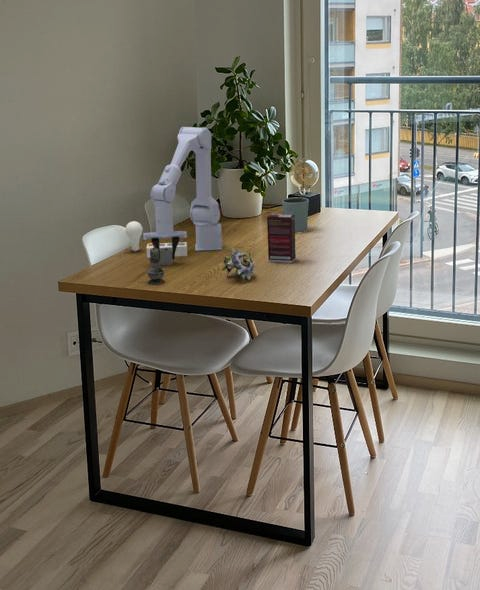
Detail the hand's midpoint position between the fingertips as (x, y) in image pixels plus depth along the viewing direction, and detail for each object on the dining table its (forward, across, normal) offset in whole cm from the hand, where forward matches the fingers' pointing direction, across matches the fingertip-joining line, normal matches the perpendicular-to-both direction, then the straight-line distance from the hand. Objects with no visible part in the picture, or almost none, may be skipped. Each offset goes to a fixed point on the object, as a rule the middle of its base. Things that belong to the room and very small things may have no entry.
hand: (166, 259), depth 304 cm
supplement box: (+2, +39, -3) cm, 39 cm away
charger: (+2, 0, 0) cm, 2 cm away
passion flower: (+2, +23, -21) cm, 31 cm away
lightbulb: (+2, -12, +19) cm, 22 cm away
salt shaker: (+2, -3, -21) cm, 21 cm away
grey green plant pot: (+2, +49, +40) cm, 63 cm away
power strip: (+2, 0, +12) cm, 12 cm away
